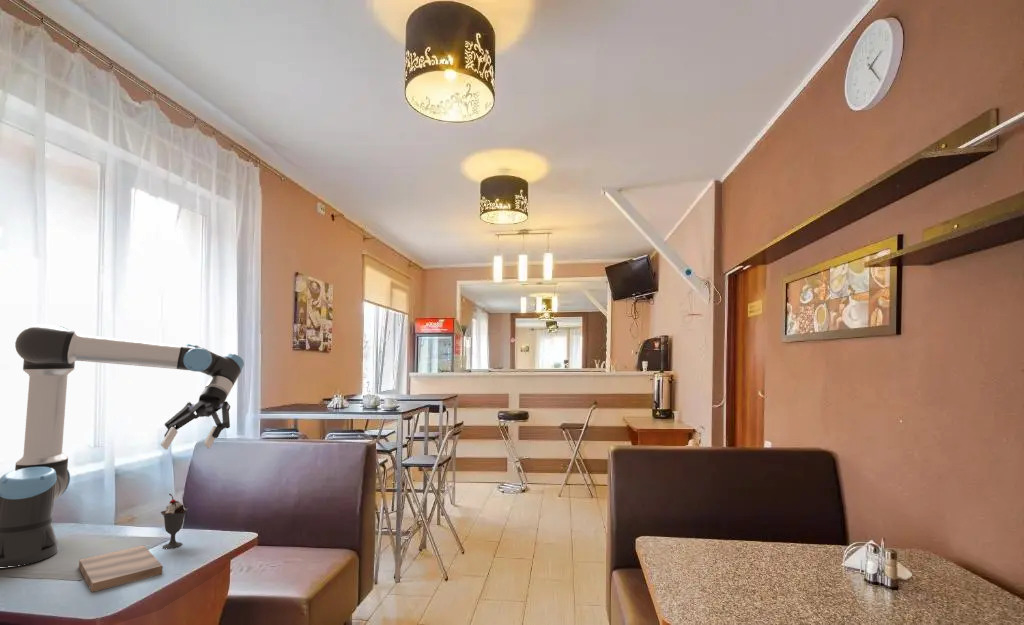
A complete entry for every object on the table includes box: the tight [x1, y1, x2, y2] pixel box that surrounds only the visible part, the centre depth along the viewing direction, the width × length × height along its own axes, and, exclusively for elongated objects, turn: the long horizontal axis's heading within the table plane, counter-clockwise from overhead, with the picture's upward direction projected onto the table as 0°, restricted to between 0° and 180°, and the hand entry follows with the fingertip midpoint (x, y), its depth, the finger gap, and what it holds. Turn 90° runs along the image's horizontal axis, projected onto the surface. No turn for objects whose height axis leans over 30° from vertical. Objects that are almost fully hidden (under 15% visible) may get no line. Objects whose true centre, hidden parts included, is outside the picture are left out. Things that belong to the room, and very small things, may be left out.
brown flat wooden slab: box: [78, 545, 164, 593], centre depth 130 cm, size 20×14×2 cm
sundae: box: [160, 493, 189, 550], centre depth 148 cm, size 7×7×15 cm
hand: (185, 446), depth 154 cm, fingers open, 13 cm apart
